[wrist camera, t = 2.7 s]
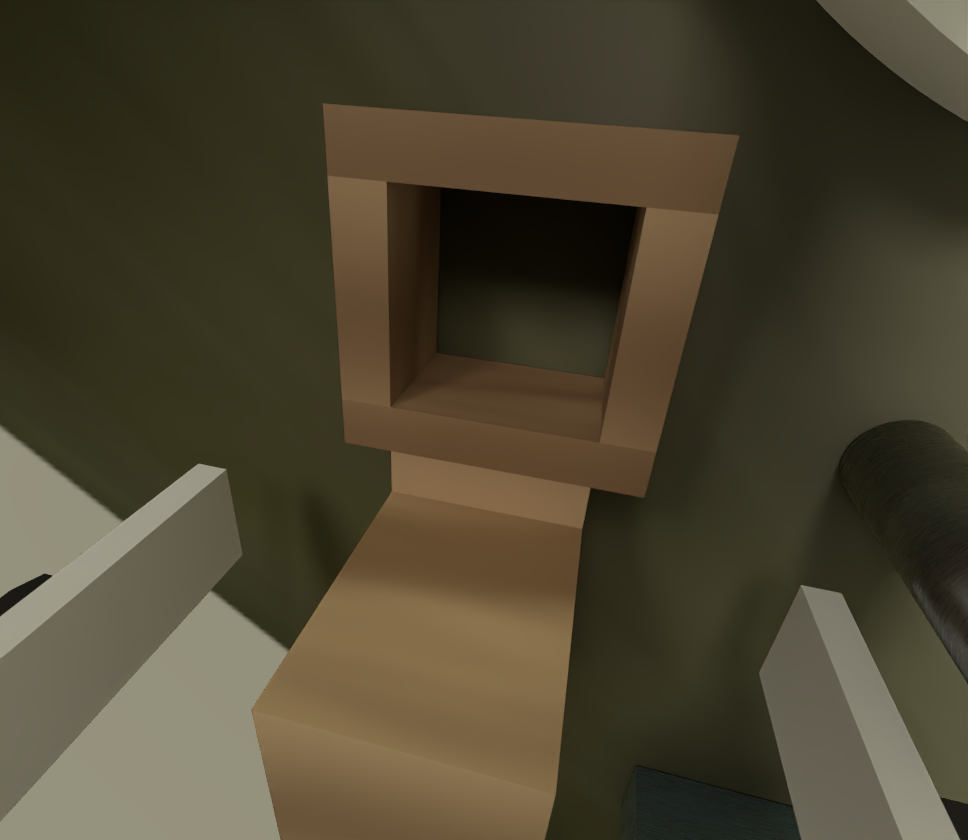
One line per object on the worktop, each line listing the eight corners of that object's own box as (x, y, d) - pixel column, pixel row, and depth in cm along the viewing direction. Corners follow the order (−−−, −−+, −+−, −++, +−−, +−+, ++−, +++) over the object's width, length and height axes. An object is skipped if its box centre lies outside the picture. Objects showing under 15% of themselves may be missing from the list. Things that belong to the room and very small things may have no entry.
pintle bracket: (767, 398, 12) (900, 640, 6) (1086, 446, 11) (1590, 785, 5) (621, 804, 20) (621, 1070, 14) (796, 852, 19) (871, 1159, 13)
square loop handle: (394, 110, 11) (-13, 70, 4) (708, 134, 10) (915, 139, 3) (399, 629, 18) (261, 938, 11) (580, 672, 17) (552, 1040, 10)
